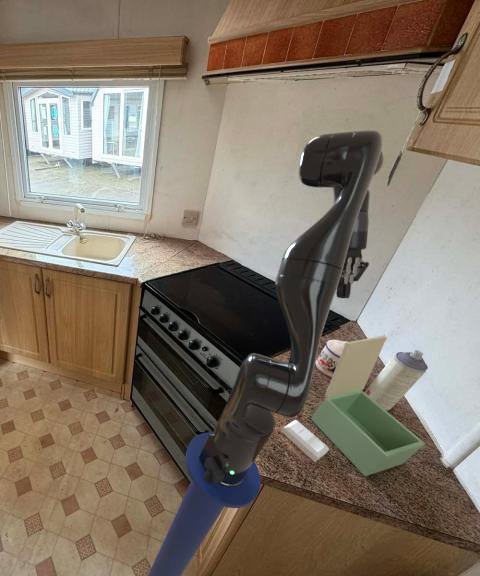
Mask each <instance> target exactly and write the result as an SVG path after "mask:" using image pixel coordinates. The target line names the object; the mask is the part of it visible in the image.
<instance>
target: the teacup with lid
mask: <svg viewBox="0 0 480 576" xmlns="http://www.w3.org/2000/svg"><path fill="white" fill-rule="evenodd" d="M346 342H348V341H347V340H345V341H344V340H339V339H329V340H327V341H326V342H325V346H324V347H323V349H322V351H321V352H320V354H319V355H318V357H316V362H315V367H316V368H317V369H318V371H320V372H321V373H322V374H324V375H325V376H328V377H330V378H332V377H333V374H334V371H335V369H336V366H337V364H338V361H339V359H340V356H341V354H342V351H343V349H344V346H345V344H346Z"/></svg>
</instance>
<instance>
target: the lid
mask: <svg viewBox="0 0 480 576" xmlns="http://www.w3.org/2000/svg"><path fill="white" fill-rule="evenodd" d="M387 338H388V337H387V336H385V335H379V336H374V337H368V338H364V339H357V340H351V341H347V342H346V344H345V346H344V349H343V351H342V354H341V356H340V359H339V361H338V364H337V366H336V369H335V371H334V374H333V377H331V379H330V382H329V384H328V387H327V389H326V392H325V395H324V396H325V398H329V397H333V396H338V395H342V394H346V393H351V392H355V391H359V390H362V391H363V390H364V389H365V387H366V385H367V383H368V381H369V378H370V376H371V374H372V371H373V369H374V367H375V365H376V363H377V361H378V358H379V356H380V354H381V352H382V349H383V348H384V345H385V343H386V341H387Z"/></svg>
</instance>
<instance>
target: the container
mask: <svg viewBox="0 0 480 576" xmlns="http://www.w3.org/2000/svg"><path fill="white" fill-rule="evenodd" d="M364 392H365V391H363V390H359V391H355V392H351V393H346V394H342V395H338V396H333V397H329V398H327V397H325V398H324V399H323V401H322V402H321V404H320V405H319V406H318V408H317V409H316V411H315V412H314V413H313V415H311V417H310V420H311V421H312V422H313V423H314V424H315V425H316V426H317V427H318V428H319V429H320V430H321V432H323V433H324V434H325V436H327V438H328V439H329V440H330V441H331V442H332V443H333V444H334V445H335V447H336V448H338V449H339V451H340V452H341V453H342V454H344V456H345V457H346V458H347V459H348V460H349V461H350V462H351V463H352V464H353V466H355V468H356V469H357V470H358V471H359V472H360V473H361V474H362V475H363V476H364V477H368V476H371V475H374V474H377V473H380V472H382V471H386V470H388V469H391V468H392V469H393V468H394V467H398V466H401V465H404V464H405V463H406V462H407V461H408V460H409V459H410V458H411V457H412V456H414V455H415V454H416V453H417V452H418V451H419V450H421V449H422V448H423V447H424V446H425V445H426V442H424V441H423V440H422V439H421V438H419V437H418V436H417V435H416V434H415V433H413V432H412V431H411V430H410V429H409V428H407V426H405V425H404V424H403V423H402V422H400V421H399V420H398V419H397V418H396V417H394V416H393V415H392V414H390V412H389V411H386V410H385V409H383V408H382V407H381V406H380V405H379V404H377V403H376V402H375V401H374V400H373V399H372V398H370V397H369V396H368V395H367V394H366V393H364Z"/></svg>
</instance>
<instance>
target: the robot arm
mask: <svg viewBox="0 0 480 576" xmlns="http://www.w3.org/2000/svg"><path fill="white" fill-rule="evenodd" d="M382 146H383V137H382V134H381V133H380V132H379V131H377V130H357V131H354V130H353V131H343V132H334V133H333V132H332V133H325V134H319V135H316V136H314V137H313V138H311V139H310V140H309V141H308V142H307V143H306V144H305V146H304V147H303V149H302V151H301V155H300V159H299V163H298V178H299V181H300V183H302V185H303V186H306V187H309V188H316V189H321V188H323V189H325V188H326V189H327V188H328V189H329V188H330V189H332V192H333V193H332V194H333V204H332V205H331V207H330V208H329V209H328V210H327V211H326V212H325V213H324V214H323V215H322V216H321V217H320V218H319V219H318V220H317V221H316V222H315V223H313V224H312V225H311V226H310V227H308V229H306V230H305V231H304V232H303V233H301V234H300V235H298V237H297V238H296V239H294V240H293V242H291V243H290V245H289V246H288V247H287V248H286V249H285V251H284V253H283V255H282V258H281V261H280V263H279V264H280V265H279V268H278V271H277V274H276V278H275V282H274V290H275V295H276V299H277V302H278V304H279V307H280V310H281V312H282V315H283V318H284V320H285V323H286V327H287V330H288V334H289V339H290V340H289V341H290V354H289V358H288V359H289V360H288V362H285V361H282V360H279V359H276V358H273V357H271V356H266V355H263V354H261V353H256V352H252V353H249V354H247V356H246V357H245V358H244V359H243V361H242V363H241V365H240V367H239V370H238V372H237V375H236V379H235V380H234V384H233V386H232V389H231V391H230V394H229V396H228V398H227V400H226V403H225V405H224V408H223V410H222V412H221V415H220V416H219V419H218V421H217V423H216V424H215V427H214V429H213V432H212V433H213V434H209V436H208V438H207V440H206V442H205V445H204V447H203V449H202V451H201V454H200V456H199V459H200V461H201V463H202V465H203V466H204V469H205V471H206V473H205V475H204V480H205V482H206V483H207V484H210V483H211V481H212V483H213V484H217V483H218V484H220V485H223V486H226V487H235V486H238V485H239V484H241V482H242V481H243V479H244V477H245V475H246V474H247V472H248V470H249V469H250V467H251V466H252V464H253V463H254V461H255V462H256V459H257V458H258V457H259V454H260V453H261V451H262V450H263V449H264V447H265V446H266V444H267V443H268V441H269V440H270V438H271V436H272V434H273V433H274V431H275V428H276V419H275V417H274V414H276V415H279V416H282V417H286V418H288V419H289V418H291V419H293V418H297V417H298V416H299V415H300V414H301V413H302V411H303V409H304V407H305V405H306V403H307V400H308V398H309V394H310V391H311V390H310V389H311V385H312V381H313V376H314V372H315V367H316V360H317V358H318V357H317V356H318V351H319V347H320V343H321V339H322V335H323V331H324V328H325V325H326V322H327V319H328V315H329V312H330V310H331V307H332V304H333V301H334V298H335V295H336V298H339V299H349V298H350V295H351V289H352V284H354V282H359V280H360V279H361V277H362V276H363V274H364V273H365V271H366V270H367V269H368V267H369V265H370V263H369V261H364V260H363V254H362V251H363V250H366V249H367V244H368V233H369V209H370V207H369V206H370V198H371V193H370V190H369V188H370V185H371V182H372V180H373V177H374V176H376V175H377V174H378V173H379V172H380V170H381V169H382V167H383V164H384V153H383V151H382V149H383V147H382ZM273 413H274V414H273ZM209 477H210V479H211V481H210V480H209V479H208V478H209Z"/></svg>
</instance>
